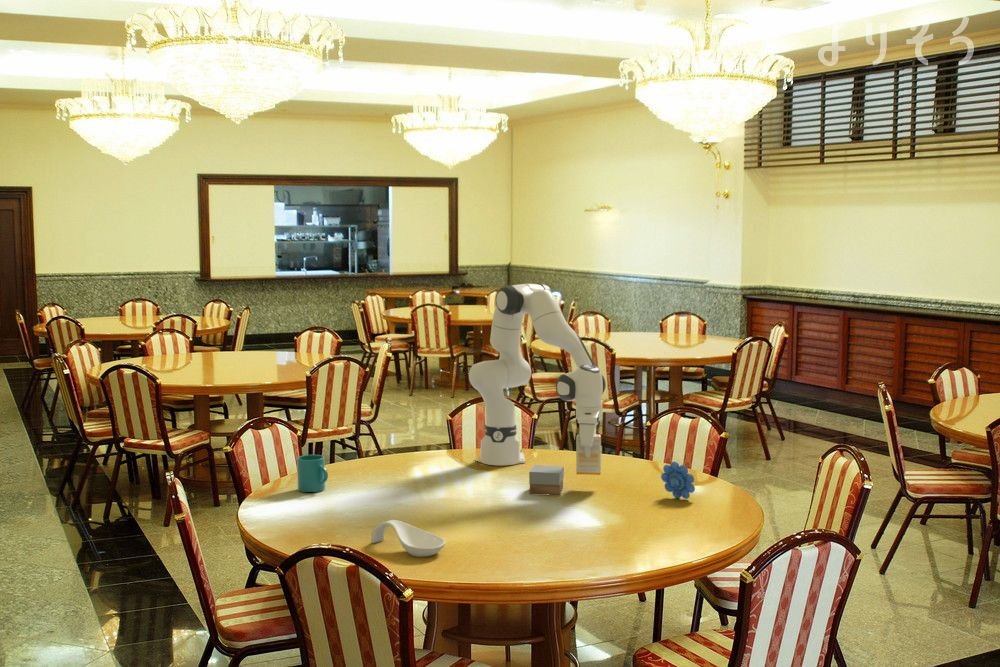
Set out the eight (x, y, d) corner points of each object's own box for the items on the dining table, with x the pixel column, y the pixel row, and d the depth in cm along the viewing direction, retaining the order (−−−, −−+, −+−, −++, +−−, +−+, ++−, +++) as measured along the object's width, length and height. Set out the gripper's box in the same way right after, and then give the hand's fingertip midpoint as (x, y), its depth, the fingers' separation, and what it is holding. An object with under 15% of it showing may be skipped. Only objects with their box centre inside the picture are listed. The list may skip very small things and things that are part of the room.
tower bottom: (533, 488, 341) (533, 476, 341) (563, 489, 339) (563, 477, 339) (529, 495, 331) (529, 483, 331) (559, 496, 330) (560, 484, 329)
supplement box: (601, 472, 340) (601, 434, 338) (600, 475, 335) (600, 436, 334) (576, 471, 341) (577, 433, 340) (575, 474, 336) (576, 436, 335)
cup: (317, 496, 330) (316, 462, 329) (292, 491, 337) (291, 458, 336) (337, 490, 337) (336, 457, 336) (311, 485, 344) (311, 453, 343)
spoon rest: (454, 553, 270) (453, 527, 270) (425, 564, 261) (424, 537, 260) (389, 537, 285) (389, 512, 284) (360, 547, 275) (360, 522, 275)
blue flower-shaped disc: (655, 498, 325) (656, 462, 324) (663, 494, 331) (664, 458, 329) (689, 503, 319) (690, 466, 318) (697, 499, 324) (697, 462, 323)
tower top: (534, 476, 341) (534, 465, 340) (563, 478, 339) (563, 466, 338) (529, 483, 331) (529, 471, 331) (559, 485, 329) (559, 473, 328)
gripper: (582, 408, 347) (581, 447, 348) (577, 419, 326) (576, 460, 328) (600, 408, 346) (599, 448, 347) (596, 419, 325) (596, 461, 327)
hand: (588, 454), depth 337 cm, fingers closed on supplement box, 5 cm apart
